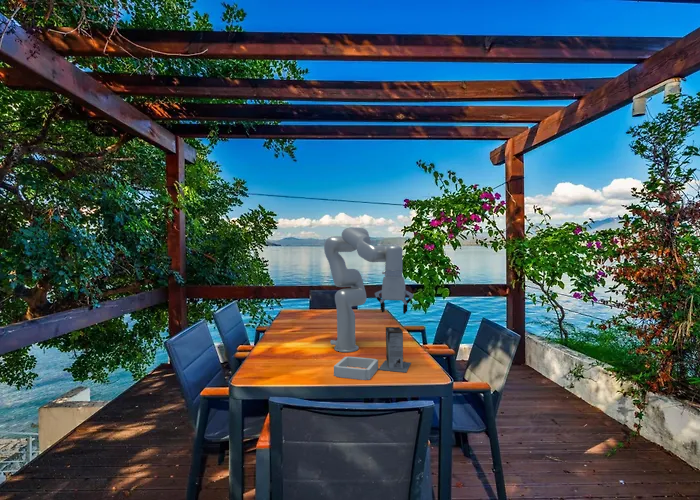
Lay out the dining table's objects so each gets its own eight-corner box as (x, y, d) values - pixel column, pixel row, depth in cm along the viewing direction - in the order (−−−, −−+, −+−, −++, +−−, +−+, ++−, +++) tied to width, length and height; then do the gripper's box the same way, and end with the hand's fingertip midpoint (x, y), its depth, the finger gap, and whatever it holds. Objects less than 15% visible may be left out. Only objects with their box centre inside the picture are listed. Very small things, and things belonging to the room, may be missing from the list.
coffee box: (385, 362, 159) (385, 326, 159) (399, 362, 159) (399, 326, 159) (388, 369, 150) (388, 331, 150) (403, 368, 150) (403, 331, 150)
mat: (378, 370, 150) (378, 369, 150) (385, 361, 163) (385, 360, 163) (406, 372, 146) (406, 371, 146) (411, 363, 159) (411, 362, 159)
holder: (333, 376, 143) (333, 366, 143) (345, 365, 157) (345, 356, 157) (369, 380, 138) (368, 370, 138) (378, 368, 152) (378, 359, 152)
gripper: (372, 274, 154) (372, 312, 154) (412, 275, 148) (412, 315, 149) (377, 272, 161) (377, 310, 161) (414, 273, 156) (414, 312, 156)
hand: (393, 312), depth 155 cm, fingers open, 9 cm apart
